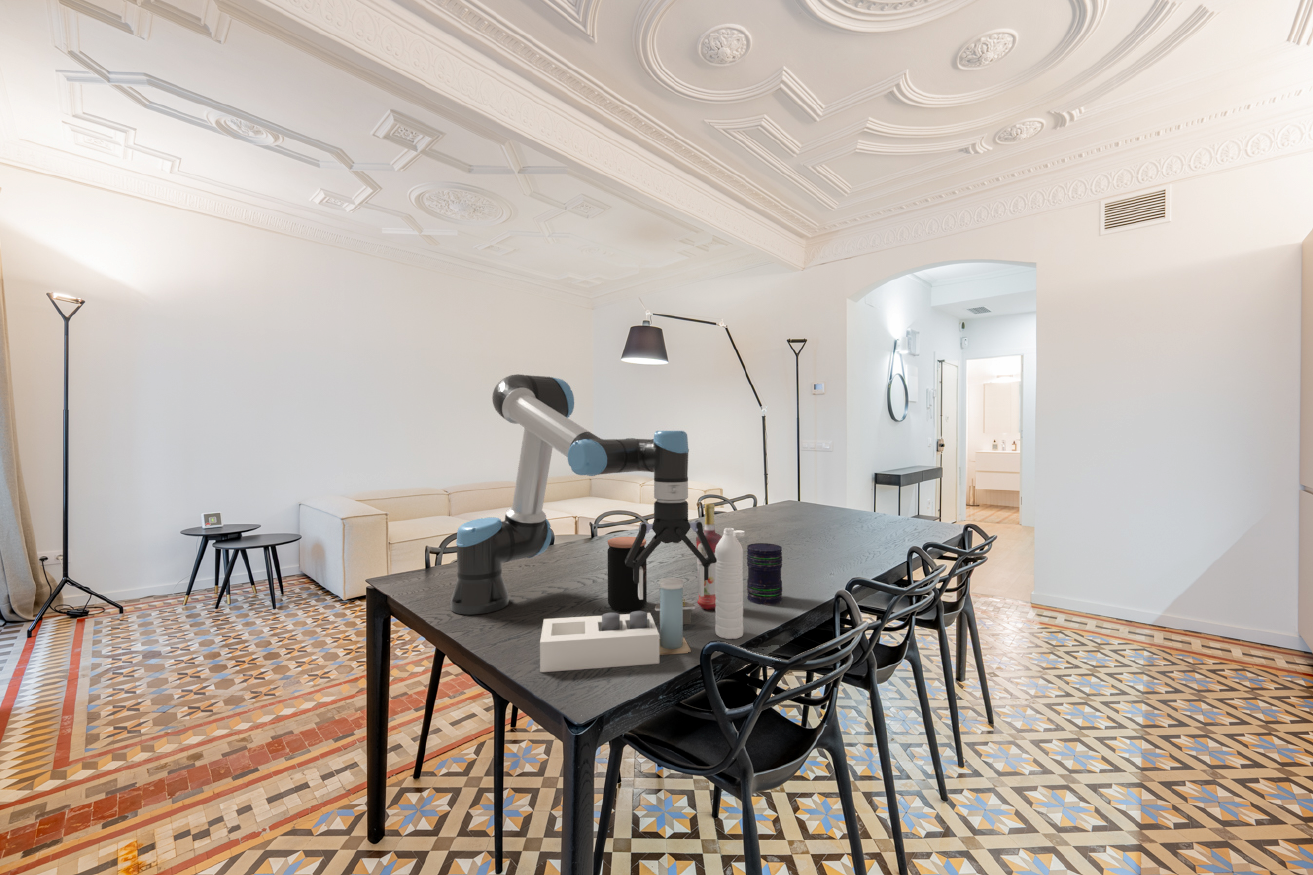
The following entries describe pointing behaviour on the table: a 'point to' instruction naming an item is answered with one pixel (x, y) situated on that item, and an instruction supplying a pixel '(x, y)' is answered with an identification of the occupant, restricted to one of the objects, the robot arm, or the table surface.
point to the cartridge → (671, 613)
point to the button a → (610, 621)
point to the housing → (596, 644)
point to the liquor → (713, 539)
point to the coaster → (682, 649)
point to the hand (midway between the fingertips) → (671, 596)
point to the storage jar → (764, 573)
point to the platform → (686, 612)
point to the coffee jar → (624, 576)
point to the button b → (638, 620)
